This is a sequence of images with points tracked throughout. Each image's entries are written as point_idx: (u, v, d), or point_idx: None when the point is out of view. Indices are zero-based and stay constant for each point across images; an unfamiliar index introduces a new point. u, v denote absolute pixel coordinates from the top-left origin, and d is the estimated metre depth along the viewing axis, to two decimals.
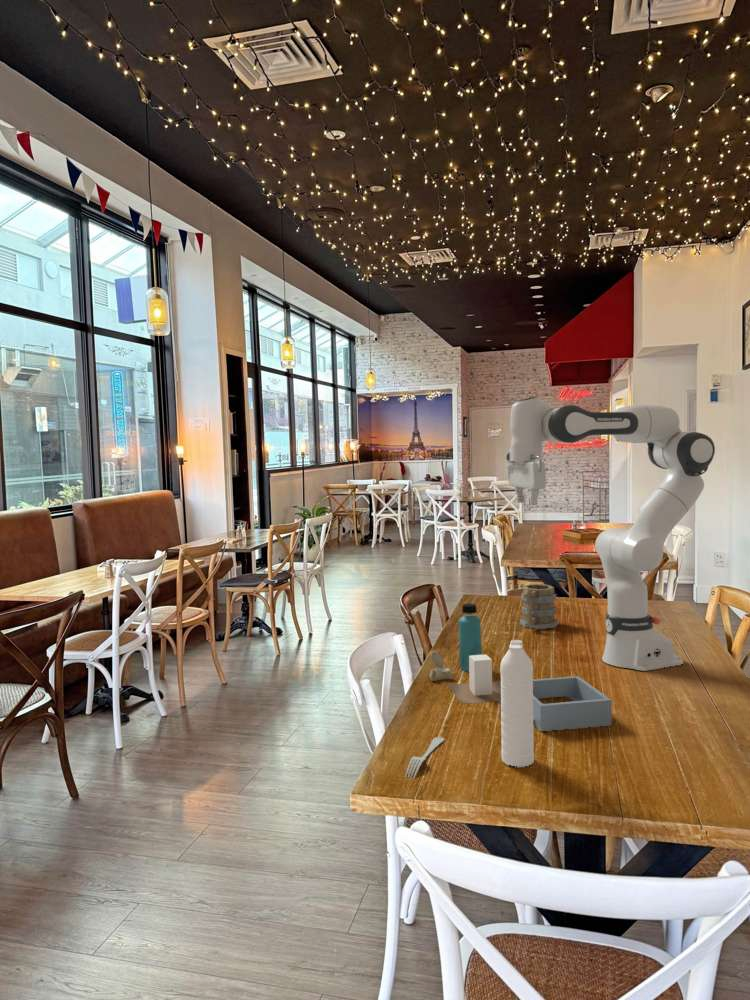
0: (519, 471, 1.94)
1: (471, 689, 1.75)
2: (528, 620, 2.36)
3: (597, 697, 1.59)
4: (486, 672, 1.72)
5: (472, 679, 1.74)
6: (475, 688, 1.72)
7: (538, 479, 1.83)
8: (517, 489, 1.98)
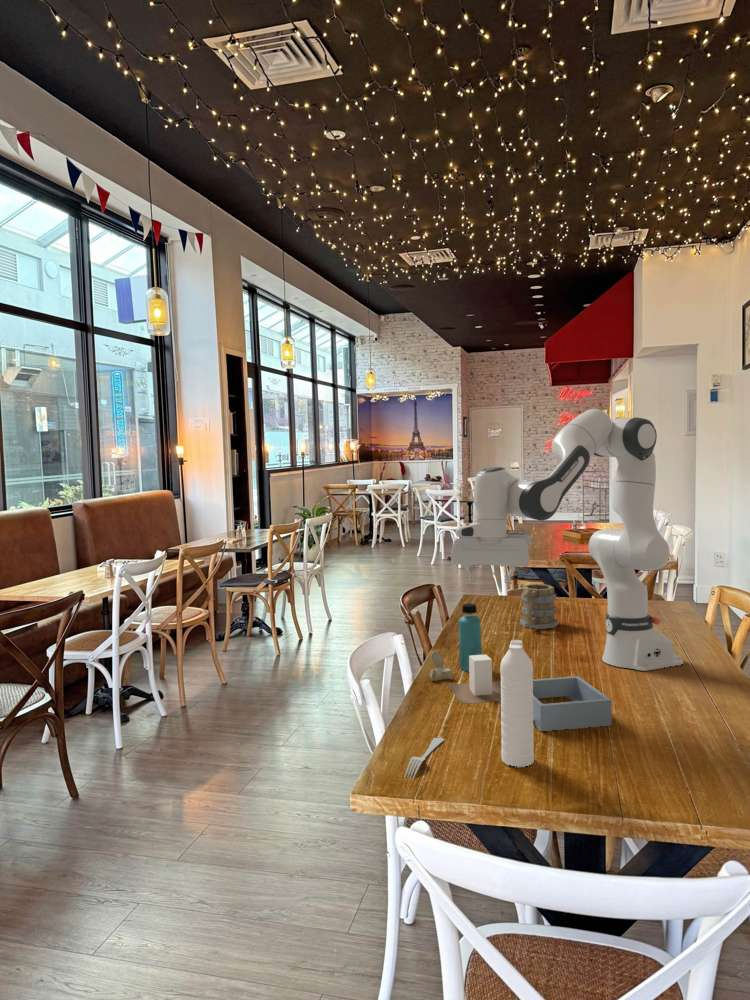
0: (484, 547, 1.76)
1: (471, 689, 1.75)
2: (528, 620, 2.36)
3: (597, 697, 1.59)
4: (486, 672, 1.72)
5: (472, 679, 1.74)
6: (475, 688, 1.72)
7: None
8: (469, 567, 1.78)
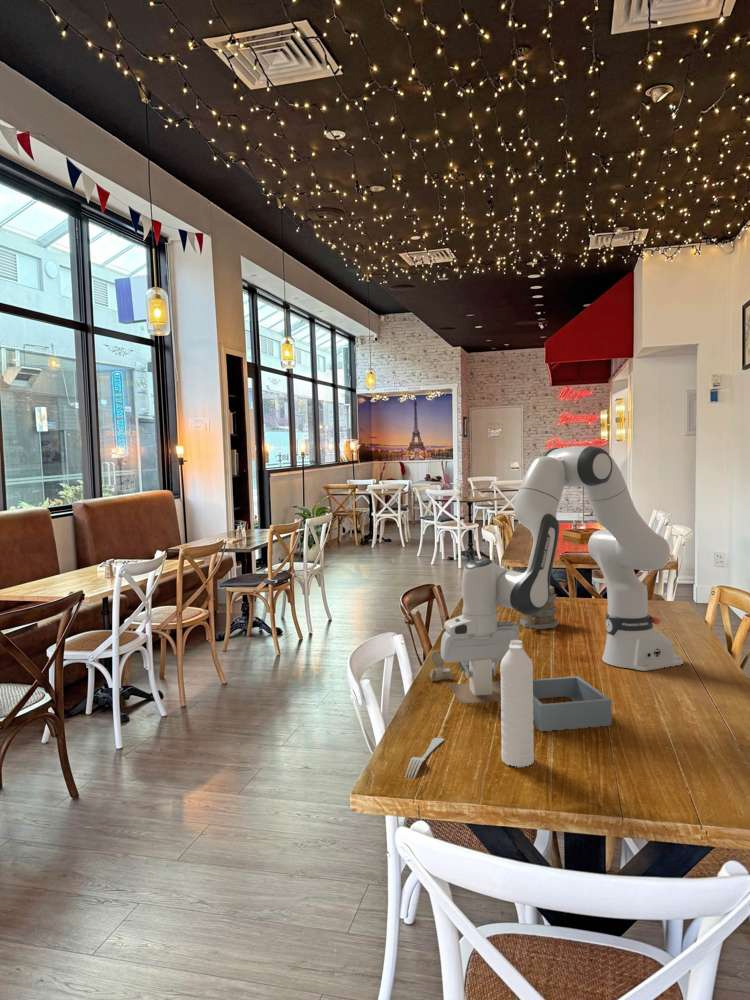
0: (476, 642, 1.72)
1: (471, 689, 1.75)
2: (528, 620, 2.36)
3: (597, 697, 1.59)
4: (487, 672, 1.72)
5: (472, 679, 1.74)
6: (475, 688, 1.72)
7: None
8: (467, 663, 1.73)
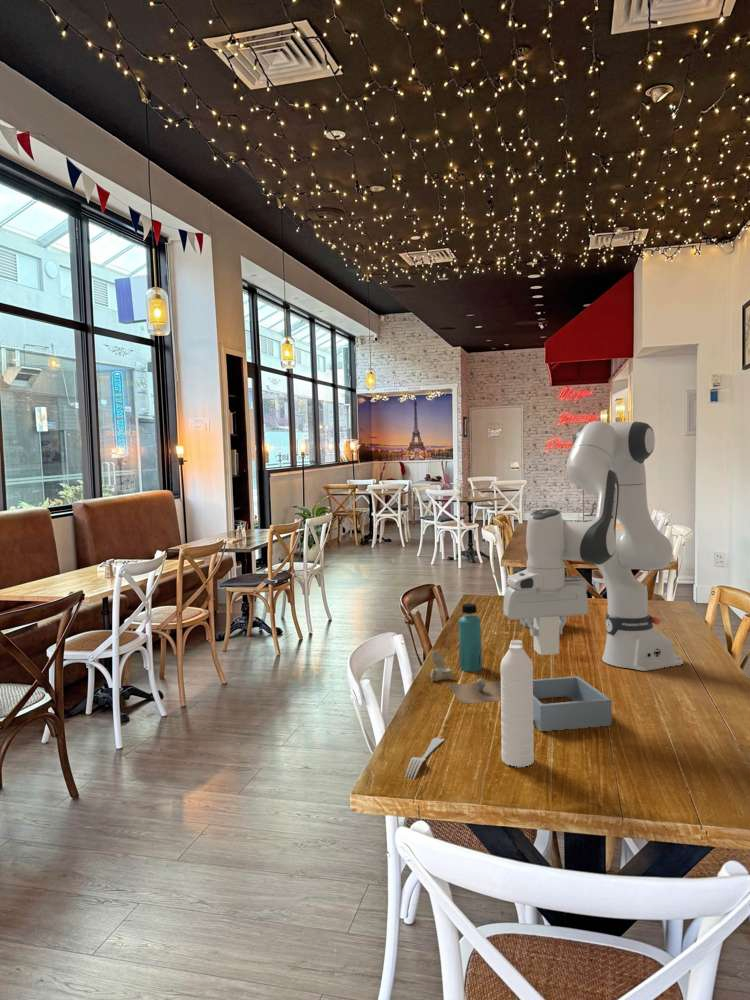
0: (542, 598, 1.61)
1: (536, 649, 1.64)
2: None
3: (597, 697, 1.59)
4: (553, 630, 1.61)
5: (537, 638, 1.62)
6: (541, 647, 1.61)
7: None
8: None
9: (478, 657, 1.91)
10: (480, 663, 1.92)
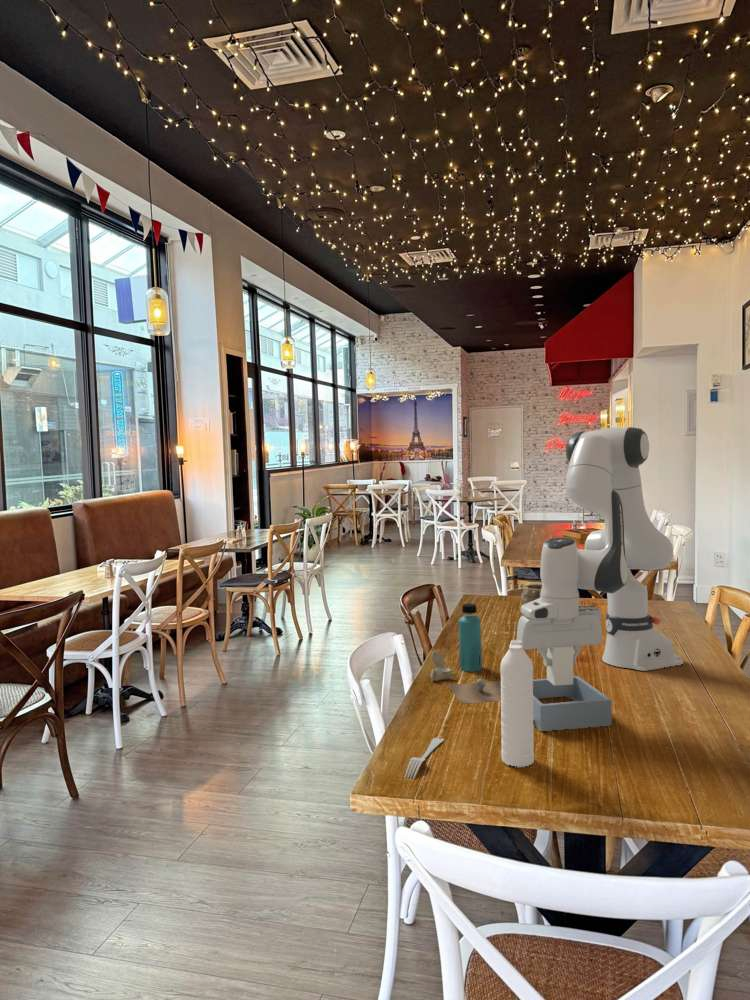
0: (556, 628, 1.59)
1: (549, 679, 1.62)
2: None
3: (597, 697, 1.59)
4: (567, 660, 1.59)
5: (551, 668, 1.60)
6: (555, 677, 1.59)
7: None
8: None
9: (478, 657, 1.91)
10: (480, 663, 1.92)
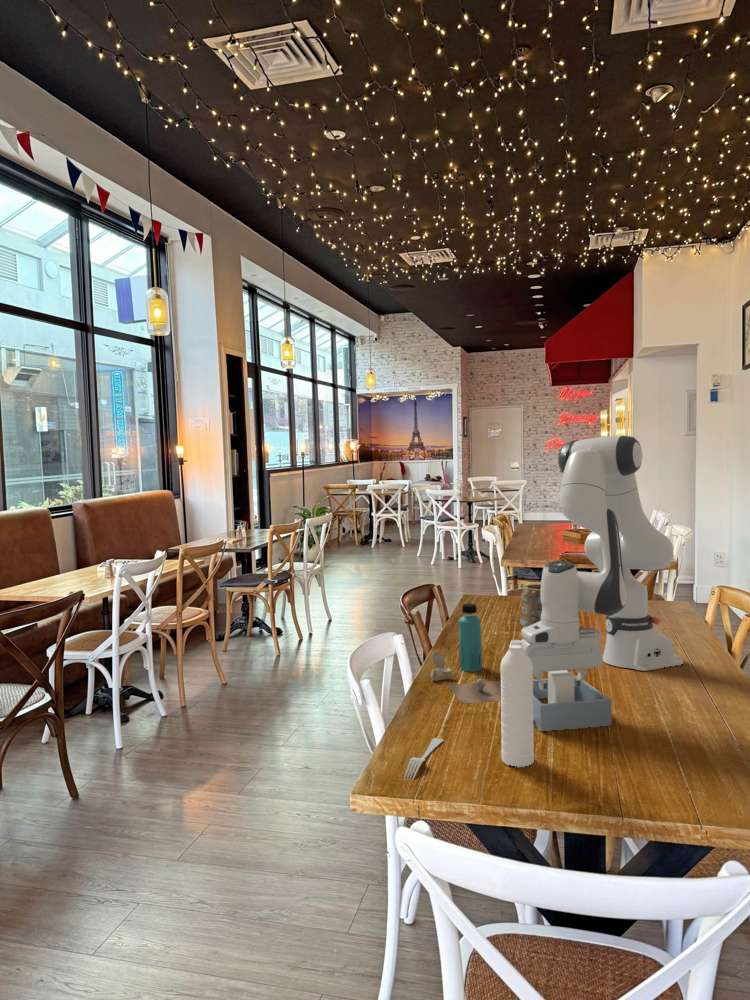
0: (556, 651, 1.59)
1: None
2: (528, 620, 2.36)
3: (597, 697, 1.59)
4: (569, 690, 1.60)
5: (552, 697, 1.61)
6: None
7: None
8: None
9: (478, 657, 1.91)
10: (480, 663, 1.92)
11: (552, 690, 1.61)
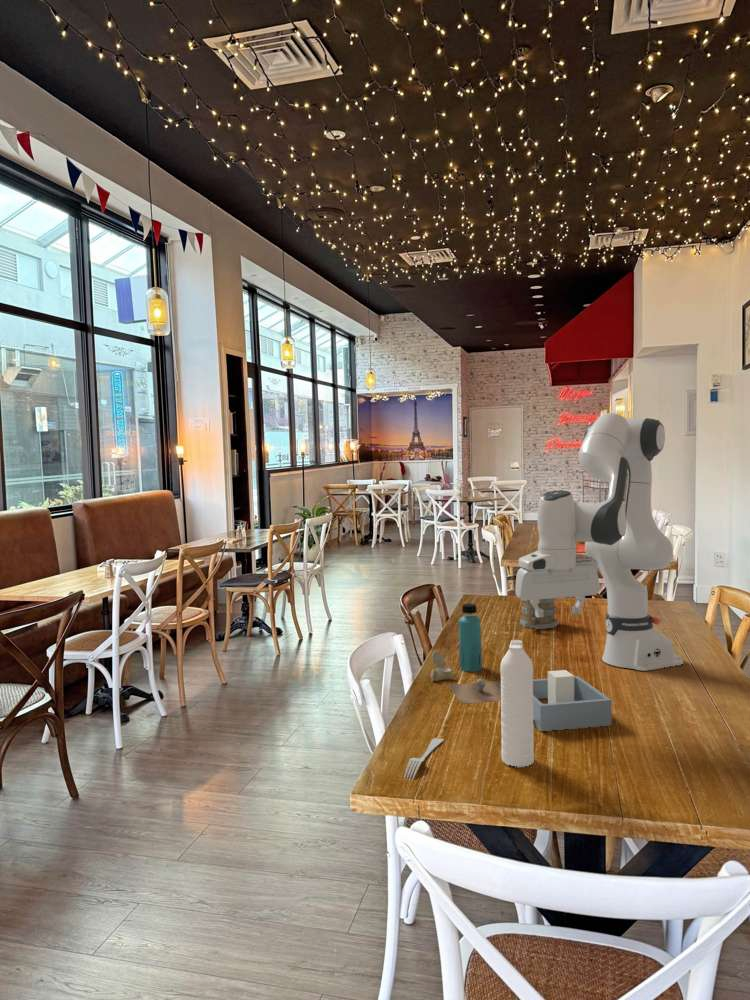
0: (554, 579, 1.62)
1: None
2: (528, 620, 2.36)
3: (597, 697, 1.59)
4: (568, 690, 1.60)
5: (552, 697, 1.61)
6: None
7: None
8: None
9: (478, 657, 1.91)
10: (480, 663, 1.92)
11: (552, 690, 1.61)
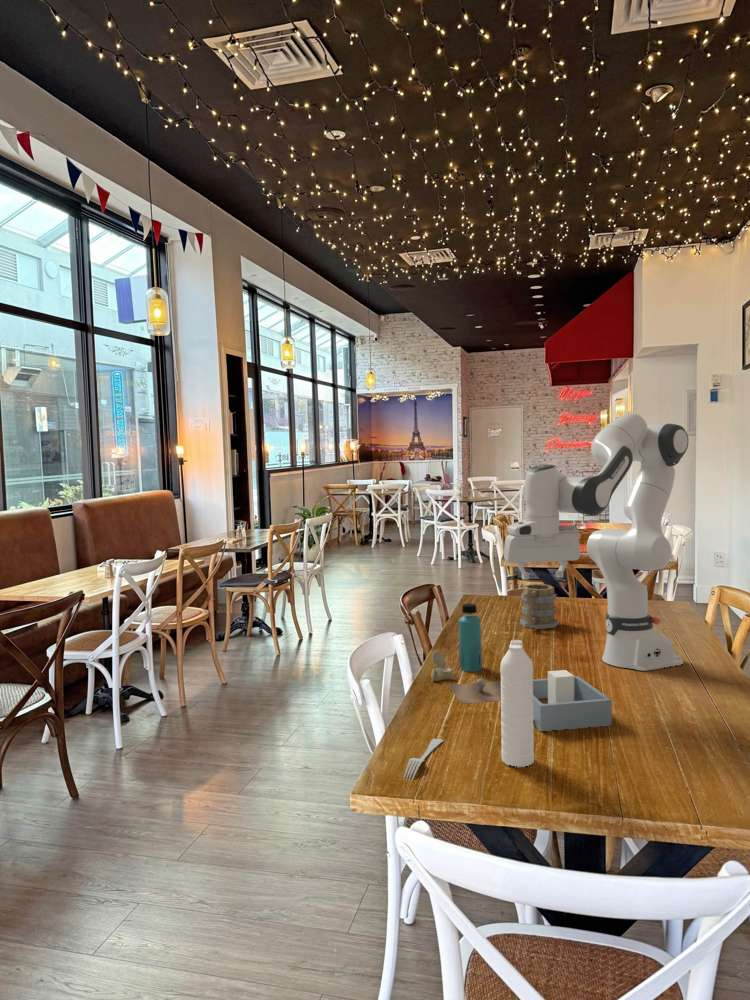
0: (538, 544, 1.78)
1: None
2: (528, 620, 2.36)
3: (597, 697, 1.59)
4: (568, 690, 1.60)
5: (552, 697, 1.61)
6: None
7: None
8: (524, 565, 1.79)
9: (478, 657, 1.91)
10: (480, 663, 1.92)
11: (552, 690, 1.61)
